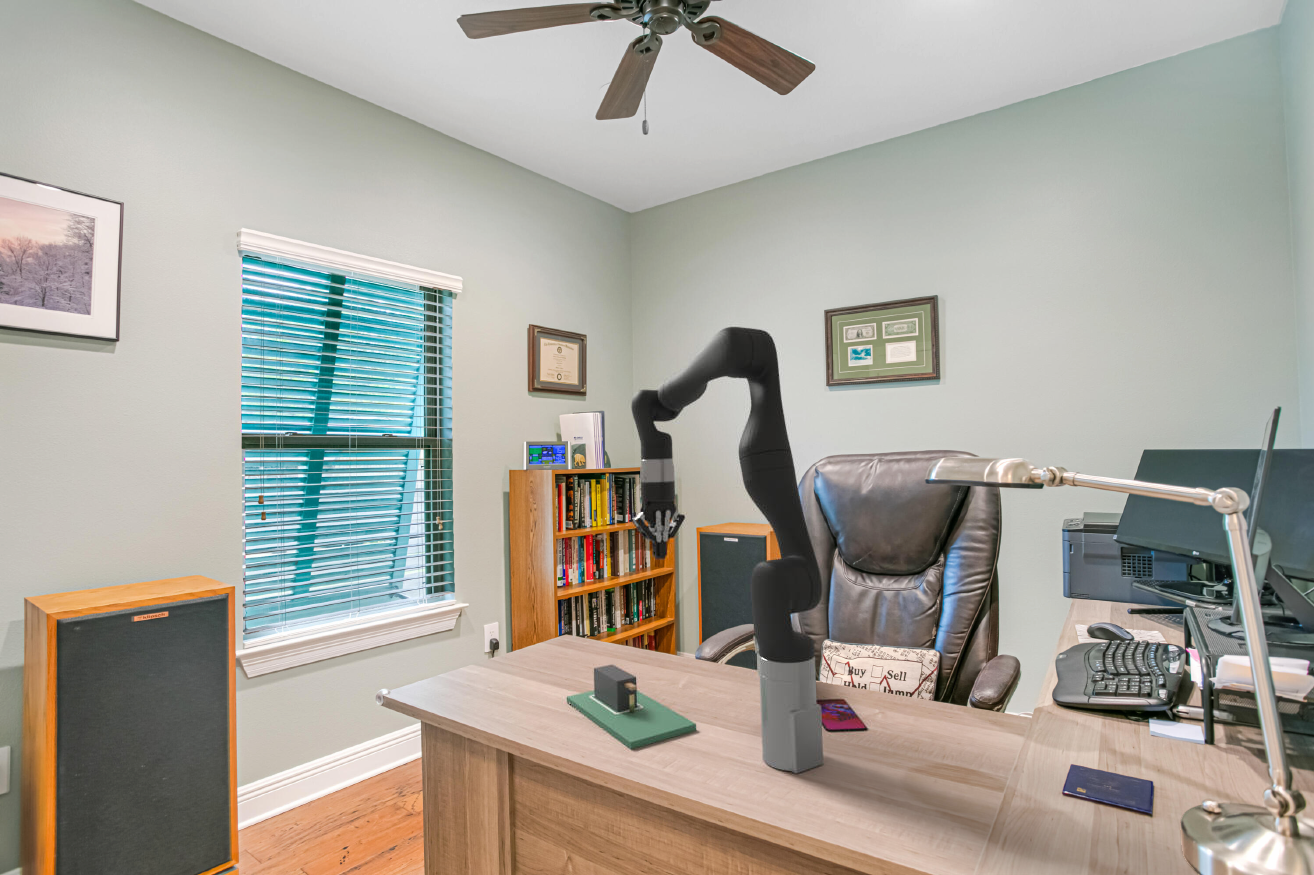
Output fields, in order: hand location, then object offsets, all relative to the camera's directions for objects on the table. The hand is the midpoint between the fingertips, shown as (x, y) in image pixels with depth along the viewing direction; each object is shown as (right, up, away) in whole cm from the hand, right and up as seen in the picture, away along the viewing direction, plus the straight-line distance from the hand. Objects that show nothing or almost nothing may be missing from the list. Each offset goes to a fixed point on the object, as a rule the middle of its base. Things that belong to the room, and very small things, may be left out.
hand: (660, 558), depth 146 cm
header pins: (-9, -28, -9) cm, 31 cm away
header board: (-7, -29, -14) cm, 33 cm away
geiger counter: (+24, -29, +4) cm, 38 cm away
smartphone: (+34, -28, -17) cm, 47 cm away
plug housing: (-9, -28, -11) cm, 31 cm away
